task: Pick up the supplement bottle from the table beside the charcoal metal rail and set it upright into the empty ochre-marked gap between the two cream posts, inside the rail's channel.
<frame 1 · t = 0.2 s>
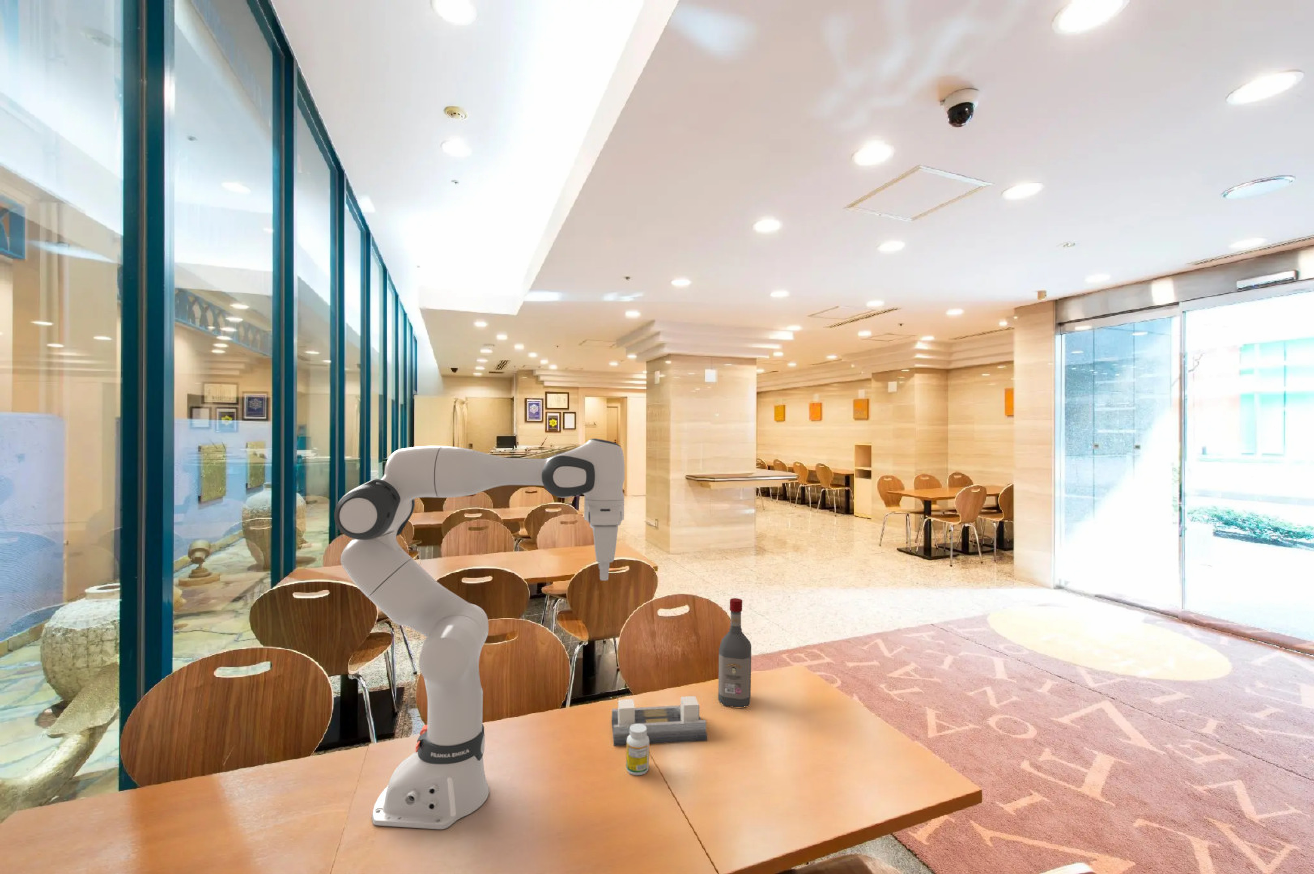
hand: (603, 574, 119), 47 cm above the table, tool pointing down, fingers open, 8 cm apart
supplement bottle: (637, 769, 125), on the table
liquor: (734, 701, 159), on the table
rail posts: (658, 713, 142), point 4 cm above the table
rail: (657, 730, 142), on the table
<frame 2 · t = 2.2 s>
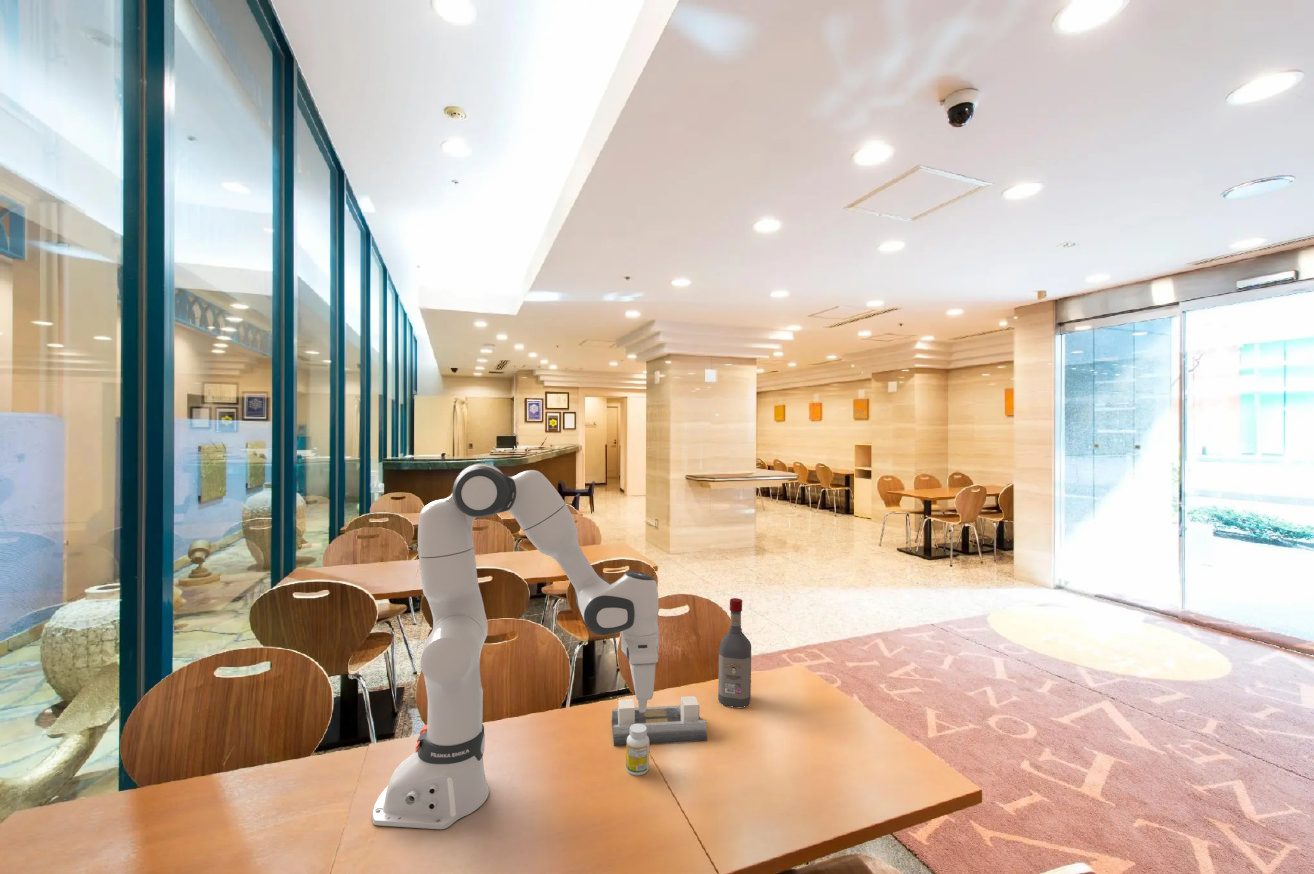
hand: (640, 700, 125), 16 cm above the table, tool pointing down, fingers open, 8 cm apart
nothing on the table moved.
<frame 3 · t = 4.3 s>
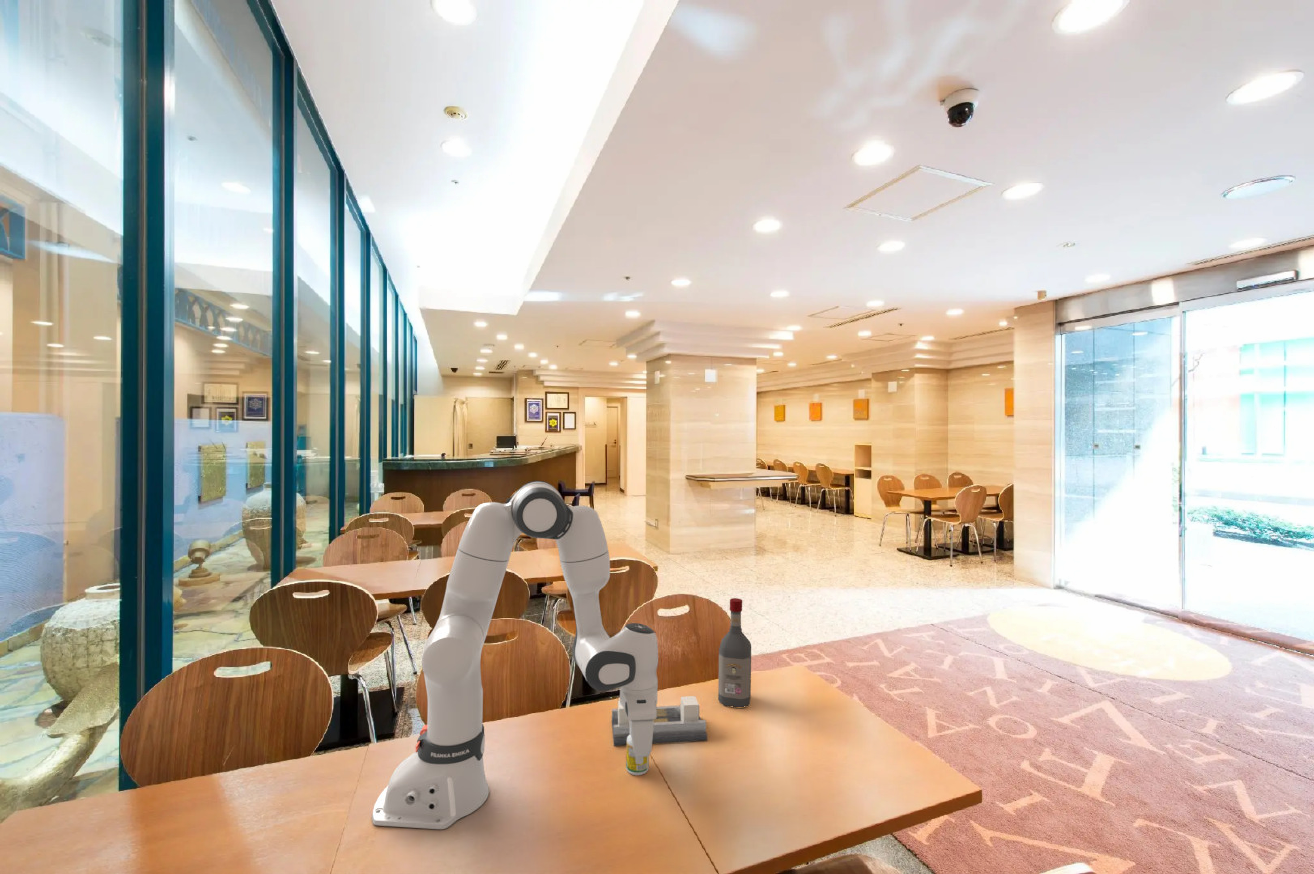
hand: (637, 753, 125), 4 cm above the table, tool pointing down, fingers closed on supplement bottle, 5 cm apart
supplement bottle: (637, 769, 125), on the table, touching gripper
everything else where it was.
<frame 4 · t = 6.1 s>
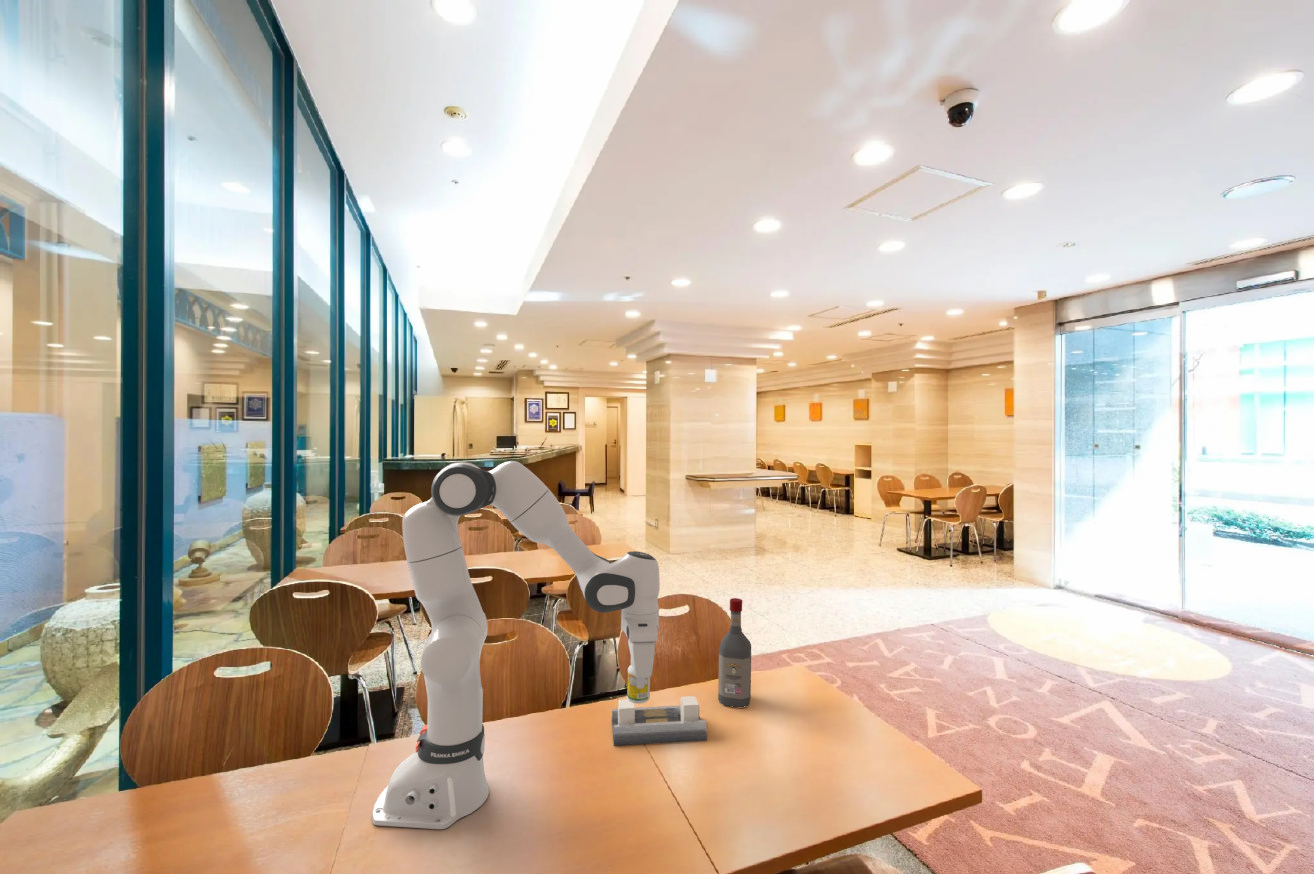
hand: (638, 680, 125), 21 cm above the table, tool pointing down, fingers closed on supplement bottle, 5 cm apart
supplement bottle: (638, 699, 125), point 16 cm above the table, touching gripper
everything else where it was.
when the fingers open (9 cm above the table, at t = 9.1 s): supplement bottle stays where it is, resting on rail.
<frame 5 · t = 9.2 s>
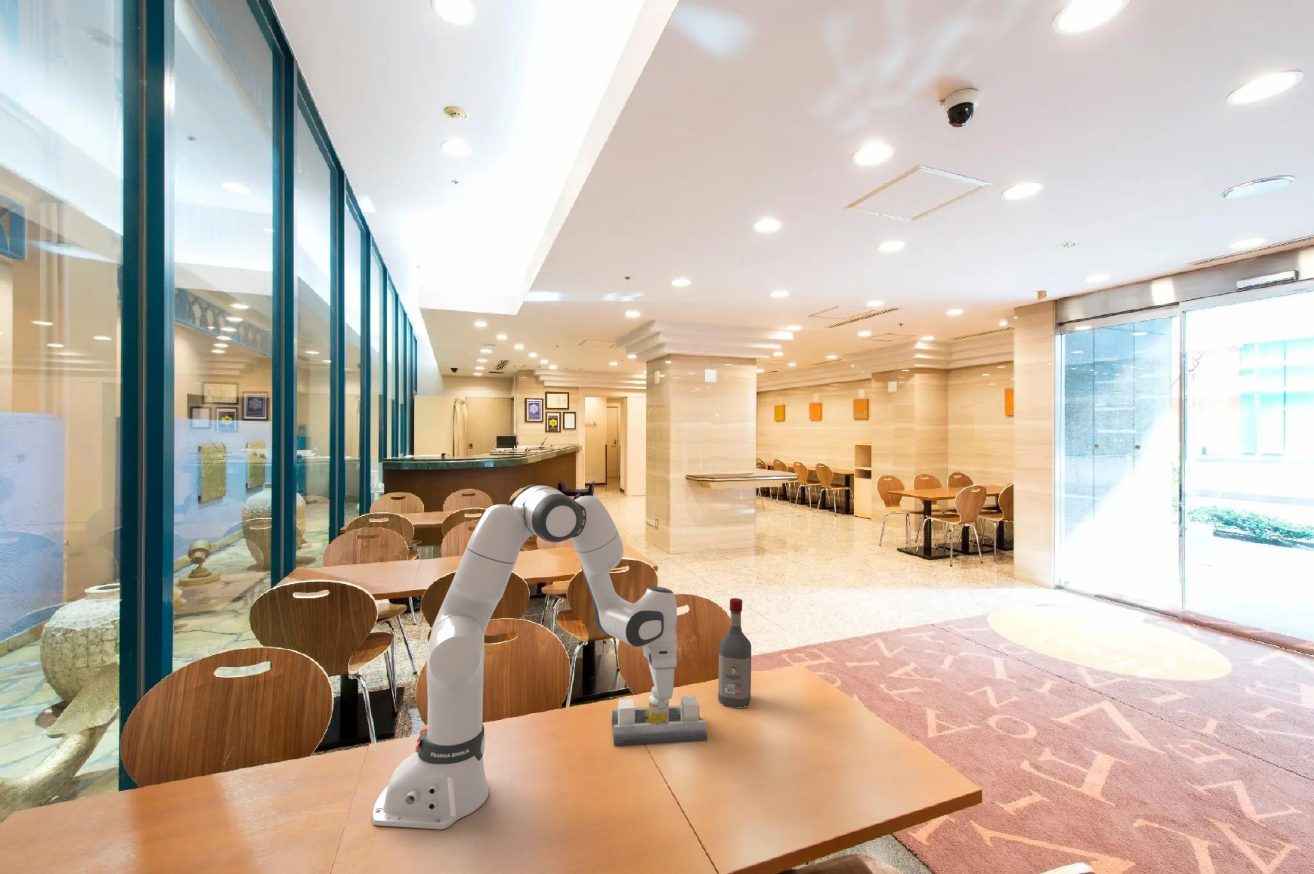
hand: (659, 700, 142), 8 cm above the table, tool pointing down, fingers open, 5 cm apart
supplement bottle: (658, 725, 142), point 1 cm above the table, touching rail
everything else where it was.
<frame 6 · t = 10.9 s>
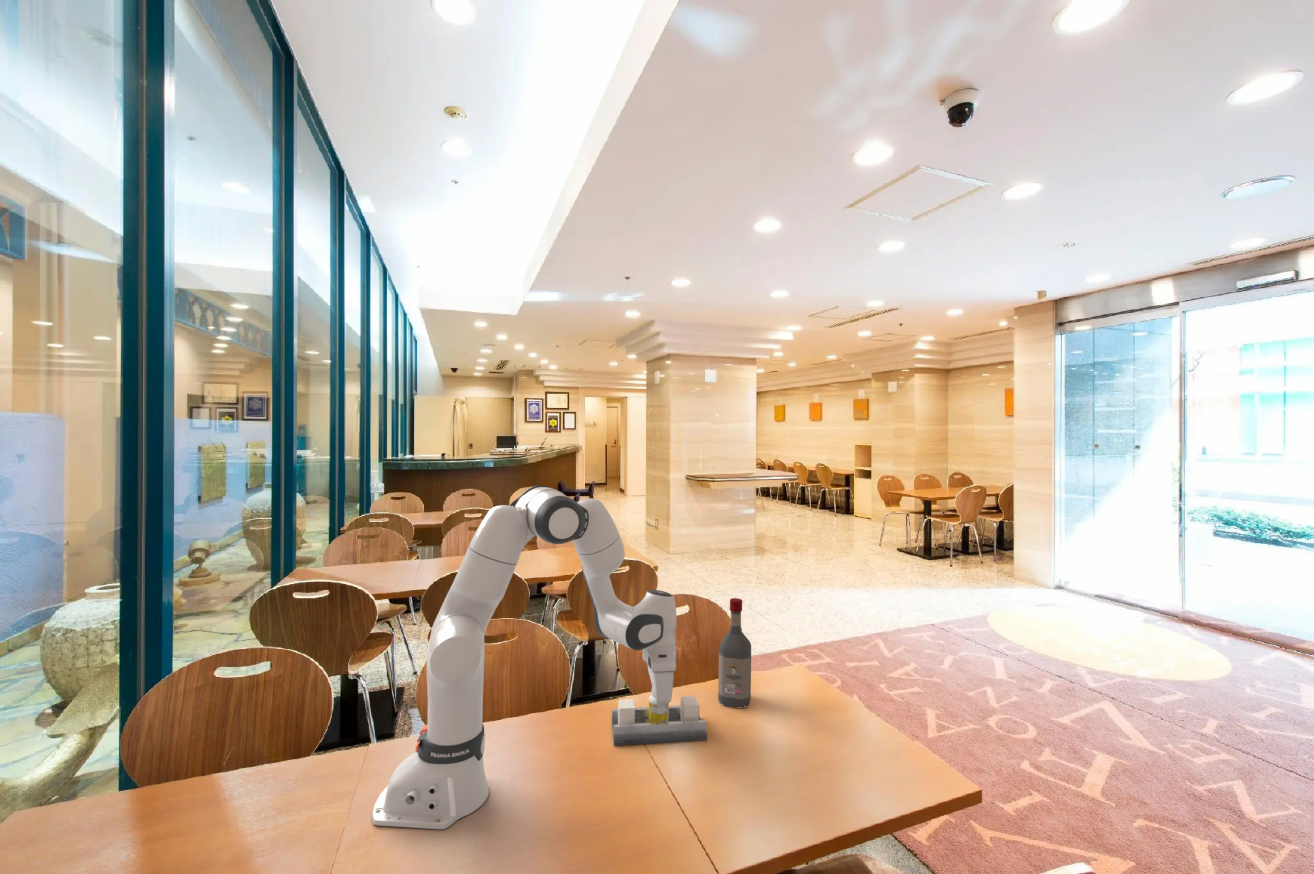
hand: (658, 703, 142), 7 cm above the table, tool pointing down, fingers open, 8 cm apart
nothing on the table moved.
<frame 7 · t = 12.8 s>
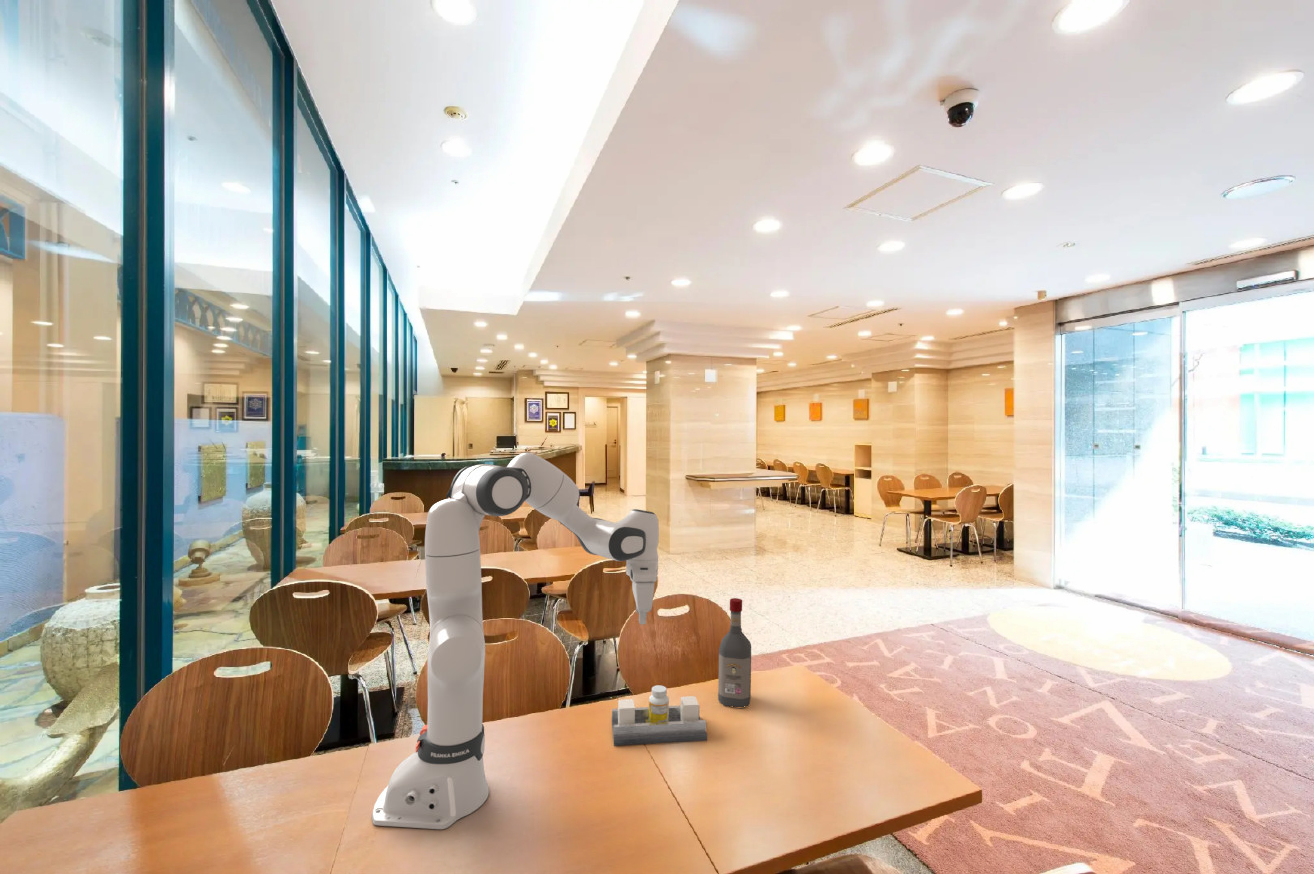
hand: (640, 617, 148), 28 cm above the table, tool pointing down, fingers open, 8 cm apart
nothing on the table moved.
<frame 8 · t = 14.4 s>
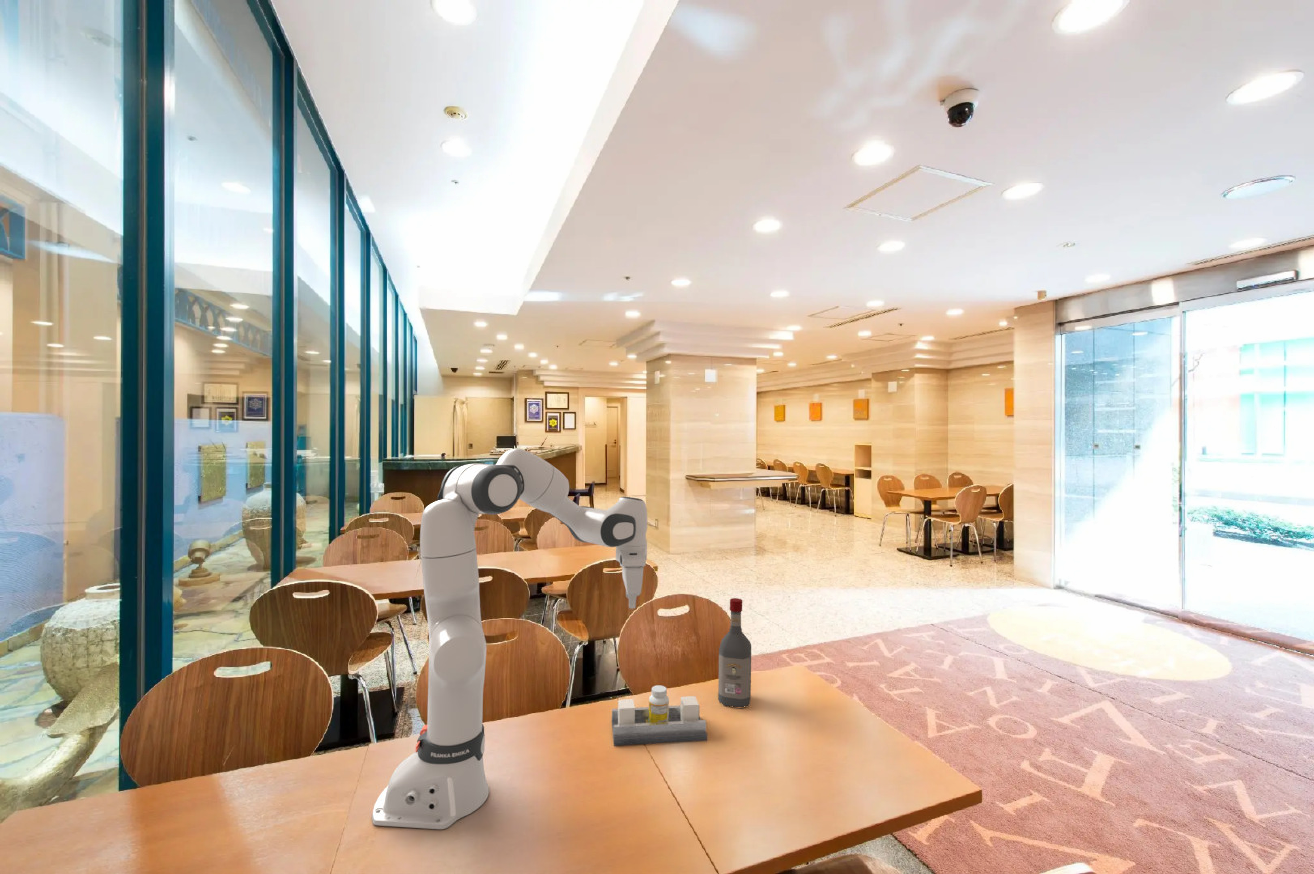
hand: (630, 602, 151), 31 cm above the table, tool pointing down, fingers open, 8 cm apart
nothing on the table moved.
at the end: supplement bottle 0.2 cm off-centre on the rail, point 1.4 cm above the rail's base; supplement bottle tilted 0°; the gripper is holding nothing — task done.
